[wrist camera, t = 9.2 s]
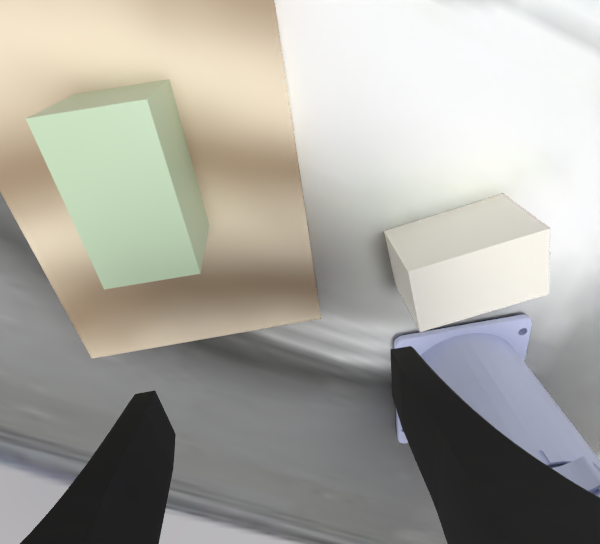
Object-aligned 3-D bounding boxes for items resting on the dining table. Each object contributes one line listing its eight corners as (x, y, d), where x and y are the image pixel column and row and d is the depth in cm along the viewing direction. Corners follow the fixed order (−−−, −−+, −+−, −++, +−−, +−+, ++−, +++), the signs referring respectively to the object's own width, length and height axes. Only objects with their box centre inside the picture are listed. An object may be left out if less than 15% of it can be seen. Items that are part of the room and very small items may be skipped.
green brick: (209, 225, 19) (200, 273, 16) (130, 238, 19) (103, 289, 15) (169, 79, 16) (146, 98, 12) (74, 94, 16) (25, 118, 12)
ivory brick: (501, 192, 21) (550, 228, 18) (504, 251, 23) (549, 294, 19) (383, 229, 21) (408, 271, 18) (395, 284, 23) (419, 332, 20)
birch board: (318, 305, 23) (321, 318, 22) (98, 343, 23) (91, 358, 22) (250, -145, 14) (250, -157, 13) (-124, -83, 14) (-154, -90, 13)
